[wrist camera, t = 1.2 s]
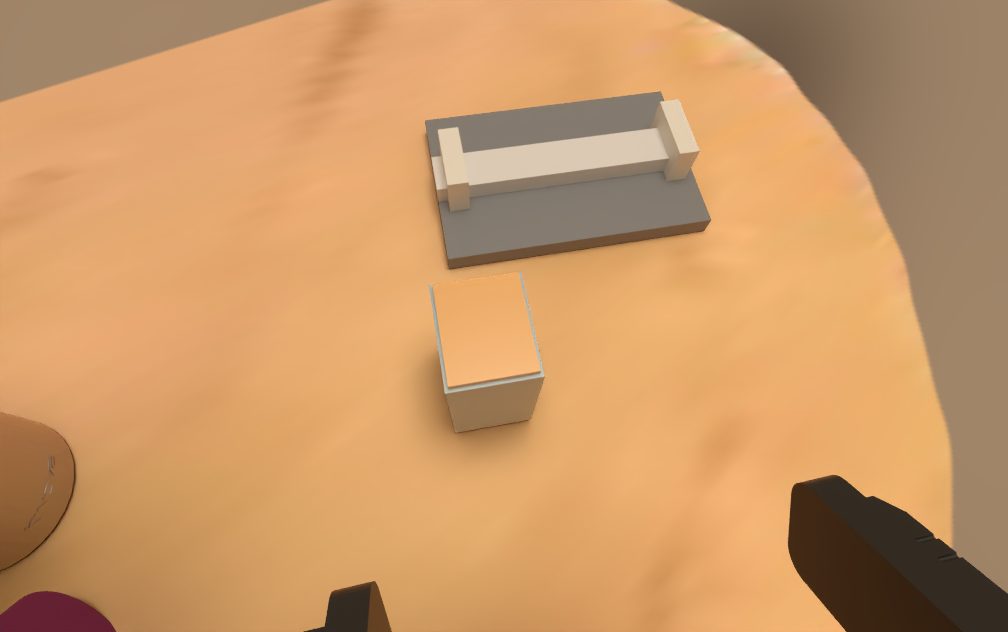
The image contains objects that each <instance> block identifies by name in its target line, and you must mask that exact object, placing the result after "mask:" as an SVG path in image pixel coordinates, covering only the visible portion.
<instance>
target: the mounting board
mask: <svg viewBox="0 0 1008 632" xmlns="http://www.w3.org/2000/svg"><path fill="white" fill-rule="evenodd" d="M425 124H426V131H427V137H428V143H429V149H430V155H431V161H432V167H433V173H434V179H435V185H436V191H437V197H438V203H439V209H440V215H441V221H442V227H443V233H444V239H445V245H446V251H447V257H448V263H449V269H454V268H460V267H467V266H474V265H480V264H487V263H493V262H500V261H507V260H513V259H520V258H527V257H533V256H540V255H547V254H553V253H560V252H567V251H573V250H580V249H586V248H593V247H600V246H606V245H613V244H620V243H626V242H633V241H640V240H646V239H653V238H659V237H666V236H673V235H679V234H686V233H693V232H699V231H704V230H705V228H706V227H707V226H708V224H709V223H710V221H711V218H710V216H709V213H708V211H707V208H706V206H705V203H704V201H703V198H702V196H701V193H700V190H699V188H698V185H697V183H696V180H695V178H694V175H693V173H692V170H691V167H692V165H693V163H694V161H695V159H696V157H697V155H698V153H699V152H700V150H699V148H698V145H697V143H696V141H695V138H694V136H693V133H692V131H691V128H690V126H689V123H688V121H687V118H686V116H685V114H684V111H683V109H682V106H681V104H680V101H679V99H678V100H670V101H664V99H663V96H662V94H661V92H653V93H645V94H637V95H629V96H620V97H612V98H604V99H596V100H588V101H580V102H572V103H564V104H556V105H548V106H539V107H531V108H523V109H515V110H507V111H499V112H491V113H483V114H475V115H467V116H458V117H450V118H442V119H434V120H426V121H425Z"/></svg>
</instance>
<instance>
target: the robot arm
mask: <svg viewBox="0 0 1008 632" xmlns="http://www.w3.org/2000/svg"><path fill="white" fill-rule="evenodd" d="M73 482H74V462H73V459H72V455H71V452H70V449H69V447H68V446H67V444H66V443H65V441H64V439H63V438H62V437H61V436H60V435H59V434H58V433H56V432H55V431H54V430H53V429H51V428H49V427H47V426H45V425H43V424H41V423H37V422H34V421H30V420H27V419H23V418H20V417H16V416H13V415H10V414H6V413H3V412H0V570H3V569H5V568H7V567H10V566H11V565H13V564H15V563H16V562H18V561H19V560H21V559H23V558H24V557H26V556H27V555H28V554H29V553H31V552H32V551H33V550H34V549H35V548H36V547H37V546H39V545H40V544H41V543H42V542H43V541H44V540H45V538H46V537H47V536H48V535H49V534H50V533H51V531H52V530H53V529H54V528H55V526H56V525H57V523H58V521H59V520H60V518H61V516H62V515H63V513H64V511H65V509H66V507H67V504H68V501H69V499H70V496H71V493H72V488H73ZM788 549H789V553H790V557H791V560H792V562H793V565H794V567H795V569H796V570H797V572H798V574H799V575H800V577H801V578H802V579H803V581H804V582H805V583H806V584H807V585H808V587H809V588H810V589H811V590H812V591H813V593H814V594H815V595H816V596H817V597H818V598H819V600H820V601H821V602H822V603H823V604H824V606H825V607H826V608H827V609H828V610H829V612H830V613H831V614H832V615H833V616H834V618H835V619H836V620H837V621H838V622H839V623H840V625H841V626H842V627H843V628H844V629H845V631H846V632H1008V594H1007V593H1006V592H1005V591H1003V590H1002V589H1001V588H1000V587H998V586H997V585H996V584H995V583H993V582H992V581H991V580H990V579H989V578H987V577H986V576H985V575H984V574H982V573H981V572H980V571H979V570H977V569H976V568H975V567H974V566H972V565H971V564H970V563H969V562H967V561H966V560H965V559H964V558H959V557H958V556H957V554H956V552H955V551H954V550H953V549H951V548H950V547H949V546H948V545H946V544H945V543H944V542H943V541H941V540H940V539H936V538H935V537H934V535H933V533H932V532H930V531H929V530H928V529H927V528H925V527H924V526H923V525H922V524H920V523H919V522H918V521H917V520H915V519H914V518H913V517H912V516H910V515H909V514H908V513H907V512H905V511H903V510H901V509H899V508H897V507H895V506H893V505H891V504H889V503H887V502H885V501H883V500H880V499H878V498H876V497H874V496H871V497H867V498H866V497H865V496H863V495H862V494H861V493H860V492H859V491H858V490H856V489H855V488H854V487H853V486H852V485H850V484H849V483H848V482H847V481H846V480H844V479H843V478H841V477H840V476H837V475H830V476H826V477H822V478H818V479H813V480H809V481H805V482H801V483H796V484H795V485H794V486H793V488H792V493H791V507H790V521H789V535H788ZM304 632H392V631H391V628H390V625H389V621H388V618H387V615H386V611H385V608H384V605H383V601H382V598H381V595H380V592H379V588H378V586H377V584H376V582H375V581H373V582H369V583H364V584H360V585H356V586H352V587H347V588H343V589H339V590H335V591H333V592H332V593H331V595H330V599H329V604H328V610H327V616H326V622H325V627H321V628H317V629H313V630H308V631H304Z"/></svg>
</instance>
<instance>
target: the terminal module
mask: <svg viewBox="0 0 1008 632" xmlns="http://www.w3.org/2000/svg"><path fill="white" fill-rule="evenodd" d="M429 290H430V296H431V303H432V310H433V317H434V323H435V330H436V337H437V344H438V350H439V357H440V364H441V371H442V378H443V384H444V391H445V396H446V400H447V403H448V407H449V411H450V415H451V418H452V422H453V426H454V429H455V433H457V432H464V431H469V430H475V429H480V428H486V427H491V426H497V425H502V424H508V423H514V422H519V421H524V420H529V419H531V417H532V414H533V411H534V408H535V405H536V402H537V399H538V396H539V393H540V390H541V387H542V384H543V380H544V377H545V375H544V371H543V366H542V362H541V357H540V353H539V349H538V344H537V340H536V335H535V331H534V326H533V322H532V317H531V313H530V308H529V304H528V299H527V295H526V291H525V286H524V282H523V277H522V273H521V271H519V272H512V273H506V274H499V275H492V276H486V277H479V278H473V279H466V280H460V281H453V282H447V283H440V284H434V285H429Z"/></svg>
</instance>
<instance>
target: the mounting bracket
mask: <svg viewBox="0 0 1008 632" xmlns="http://www.w3.org/2000/svg"><path fill="white" fill-rule="evenodd" d="M0 632H116V631H115V629H114V628H113V626H112V625H111V623H110V622H109V621H108V620H107V619H106V618H105V617H104V616H102V615H101V614H100V613H99V612H97V611H96V610H95V609H93V608H92V607H90V606H89V605H87V604H86V603H84V602H82V601H80V600H78V599H76V598H74V597H71V596H68V595H65V594H62V593H57V592H49V591H42V592H35V593H31V594H28V595H26V596H24V597H23V598H21V599H20V600H18V601H17V602H16V603H15V604H13V605H12V606H11V607H10V608H9V609H7V610H6V611H5V612H4V613H2V614H1V615H0Z"/></svg>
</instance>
